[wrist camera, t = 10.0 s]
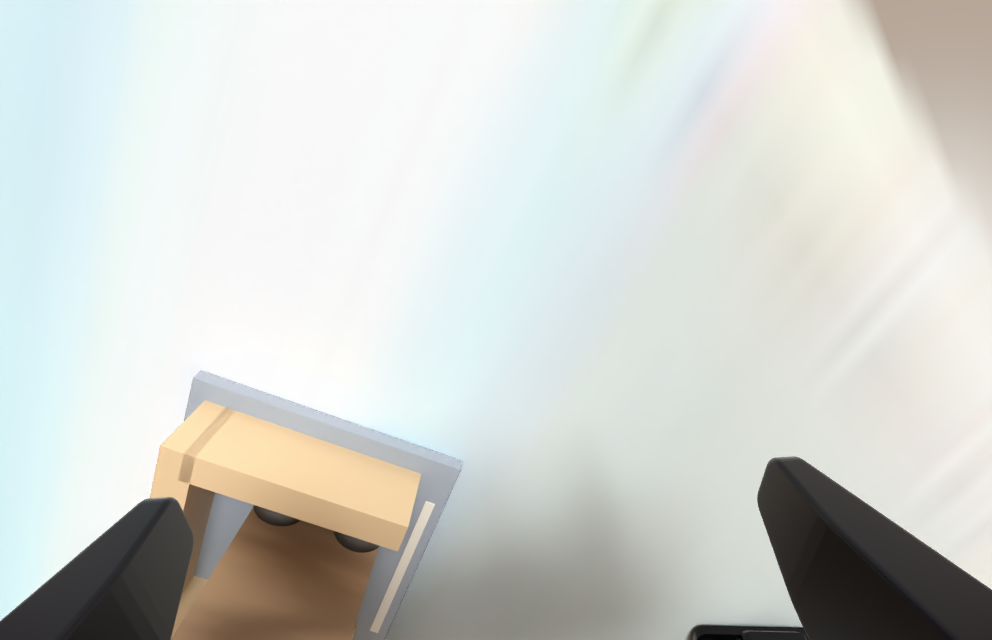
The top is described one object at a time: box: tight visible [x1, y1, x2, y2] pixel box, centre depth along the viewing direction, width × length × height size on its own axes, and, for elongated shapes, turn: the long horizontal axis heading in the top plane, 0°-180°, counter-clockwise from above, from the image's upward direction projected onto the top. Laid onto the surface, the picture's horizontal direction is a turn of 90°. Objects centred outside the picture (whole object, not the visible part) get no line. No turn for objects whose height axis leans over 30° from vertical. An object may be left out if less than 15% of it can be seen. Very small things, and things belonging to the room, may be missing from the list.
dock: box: [150, 371, 462, 640], centre depth 24 cm, size 11×12×4 cm
